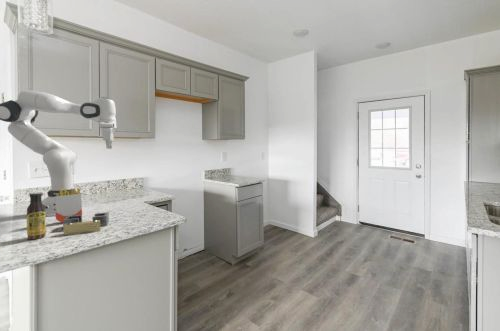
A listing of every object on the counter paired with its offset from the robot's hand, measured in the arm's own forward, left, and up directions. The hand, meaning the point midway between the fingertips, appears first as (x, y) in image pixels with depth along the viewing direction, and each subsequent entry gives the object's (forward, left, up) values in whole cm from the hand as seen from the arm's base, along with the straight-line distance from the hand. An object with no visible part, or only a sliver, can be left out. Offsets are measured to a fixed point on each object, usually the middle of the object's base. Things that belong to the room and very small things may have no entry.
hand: (109, 148), depth 147 cm
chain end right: (-3, -24, -39) cm, 46 cm away
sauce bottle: (-26, -34, -39) cm, 58 cm away
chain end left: (-15, -24, -39) cm, 48 cm away
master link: (-9, -34, -39) cm, 53 cm away
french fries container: (-19, -12, -39) cm, 45 cm away
